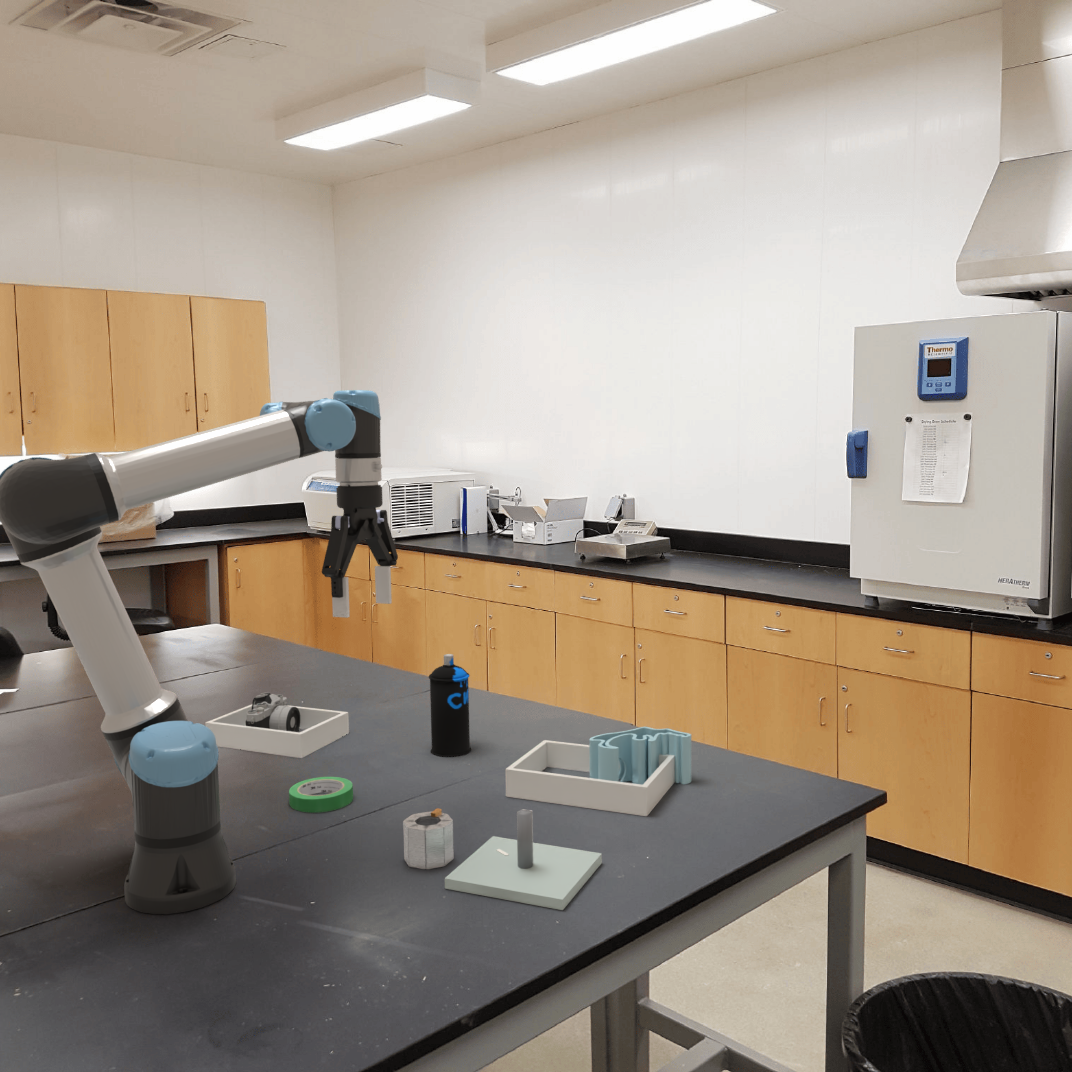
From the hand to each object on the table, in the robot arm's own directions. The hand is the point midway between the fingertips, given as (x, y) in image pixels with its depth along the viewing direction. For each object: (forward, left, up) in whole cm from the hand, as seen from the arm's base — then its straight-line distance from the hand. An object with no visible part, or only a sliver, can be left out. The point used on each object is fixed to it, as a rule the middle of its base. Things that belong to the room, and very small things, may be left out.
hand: (363, 610), depth 169 cm
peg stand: (-14, -35, -35) cm, 52 cm away
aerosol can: (+33, +2, -35) cm, 48 cm away
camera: (+27, +41, -35) cm, 60 cm away
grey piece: (-14, -19, -35) cm, 42 cm away
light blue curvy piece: (+28, -39, -36) cm, 60 cm away
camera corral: (+27, +40, -35) cm, 59 cm away
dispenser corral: (+23, -32, -35) cm, 53 cm away
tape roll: (+1, +11, -35) cm, 37 cm away
